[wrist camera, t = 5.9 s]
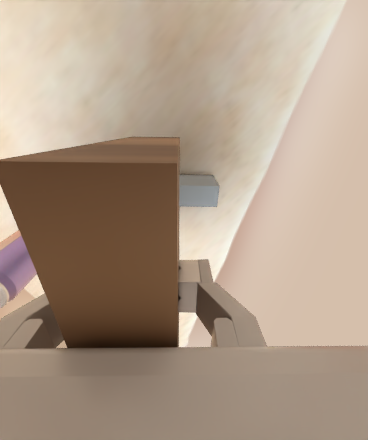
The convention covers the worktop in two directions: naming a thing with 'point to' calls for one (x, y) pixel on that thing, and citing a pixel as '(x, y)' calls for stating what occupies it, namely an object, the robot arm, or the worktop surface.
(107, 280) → the wooden bridge block
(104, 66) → the worktop surface
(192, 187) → the notched grey block
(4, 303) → the beverage can
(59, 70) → the worktop surface
